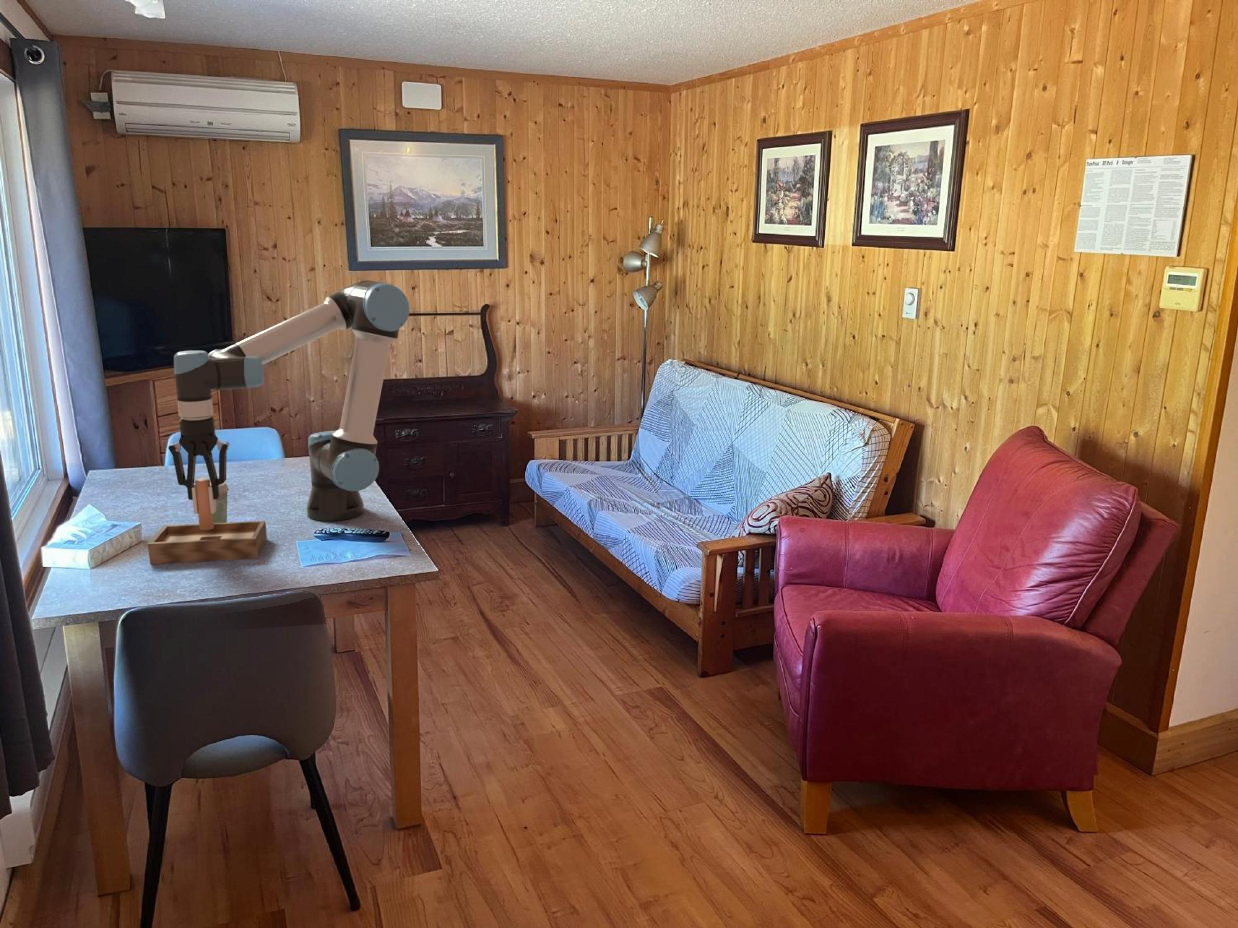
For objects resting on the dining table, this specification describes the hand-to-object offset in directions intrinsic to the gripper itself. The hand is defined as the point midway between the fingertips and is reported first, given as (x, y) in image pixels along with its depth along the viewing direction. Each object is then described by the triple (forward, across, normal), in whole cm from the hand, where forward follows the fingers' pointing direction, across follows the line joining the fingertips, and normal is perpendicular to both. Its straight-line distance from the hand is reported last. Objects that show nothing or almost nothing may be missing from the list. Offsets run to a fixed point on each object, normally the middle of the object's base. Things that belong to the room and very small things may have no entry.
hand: (205, 511), depth 230 cm
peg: (+4, 0, 0) cm, 4 cm away
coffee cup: (+10, +3, -19) cm, 22 cm away
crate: (+10, 0, 0) cm, 10 cm away
